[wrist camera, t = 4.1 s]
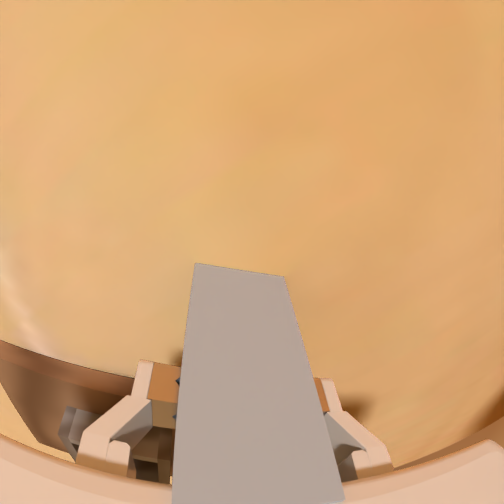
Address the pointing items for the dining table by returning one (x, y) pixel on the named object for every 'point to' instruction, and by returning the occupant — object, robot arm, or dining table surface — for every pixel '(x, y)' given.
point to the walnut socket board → (76, 406)
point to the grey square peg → (248, 399)
